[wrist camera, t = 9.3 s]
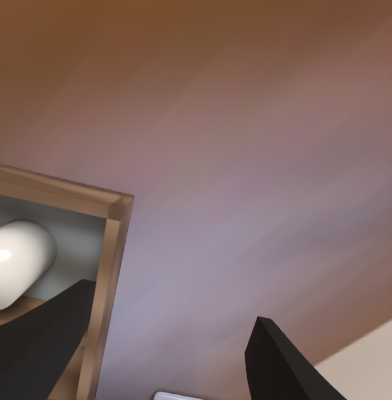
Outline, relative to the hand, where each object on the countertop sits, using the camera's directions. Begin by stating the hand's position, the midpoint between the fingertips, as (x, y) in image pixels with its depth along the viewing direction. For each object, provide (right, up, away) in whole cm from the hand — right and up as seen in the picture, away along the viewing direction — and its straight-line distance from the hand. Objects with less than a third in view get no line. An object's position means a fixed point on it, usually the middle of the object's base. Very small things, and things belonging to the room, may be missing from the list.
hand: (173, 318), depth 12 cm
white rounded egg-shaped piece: (-11, +2, +8) cm, 14 cm away
